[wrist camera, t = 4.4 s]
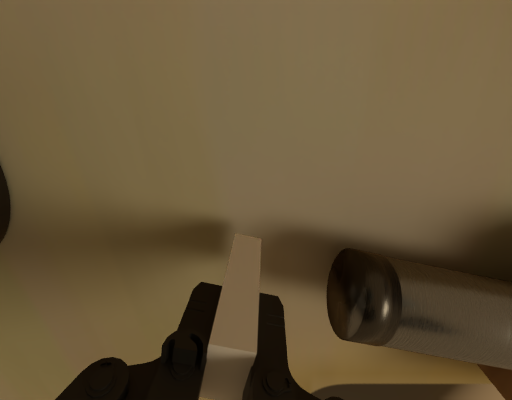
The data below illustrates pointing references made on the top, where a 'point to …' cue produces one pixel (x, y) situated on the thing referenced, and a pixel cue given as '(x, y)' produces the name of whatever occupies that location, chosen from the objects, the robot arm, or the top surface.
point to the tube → (420, 308)
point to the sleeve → (499, 379)
